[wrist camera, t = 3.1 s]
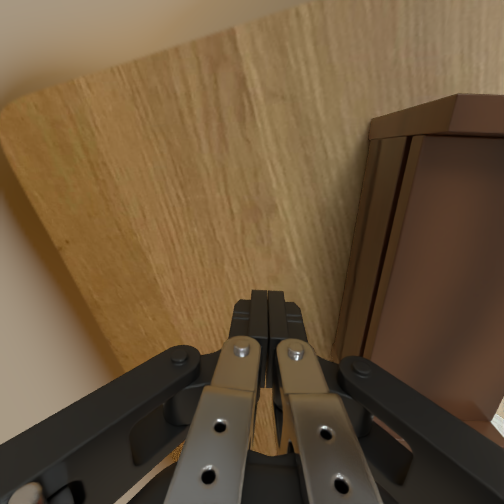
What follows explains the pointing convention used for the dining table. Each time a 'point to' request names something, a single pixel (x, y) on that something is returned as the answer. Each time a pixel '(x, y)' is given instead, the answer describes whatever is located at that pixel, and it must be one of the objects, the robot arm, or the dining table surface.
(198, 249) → the dining table surface
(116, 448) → the robot arm
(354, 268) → the storage chest
